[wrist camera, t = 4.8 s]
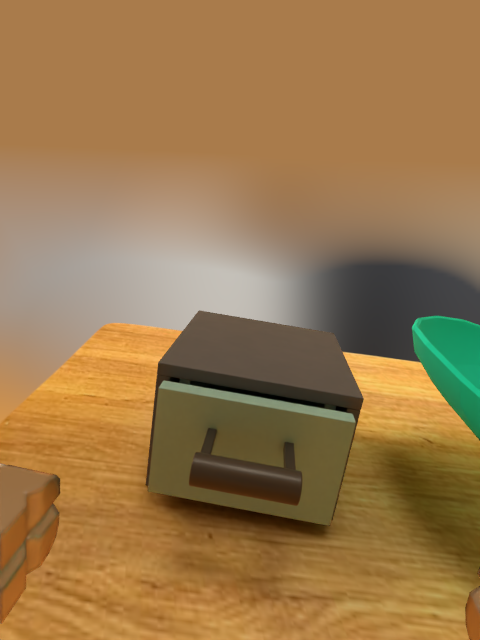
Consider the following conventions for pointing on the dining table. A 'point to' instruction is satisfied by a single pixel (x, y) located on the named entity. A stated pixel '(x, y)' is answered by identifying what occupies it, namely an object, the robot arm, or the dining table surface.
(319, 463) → the drawer
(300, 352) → the mini chest of drawers
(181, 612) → the dining table surface
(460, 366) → the table top decor
